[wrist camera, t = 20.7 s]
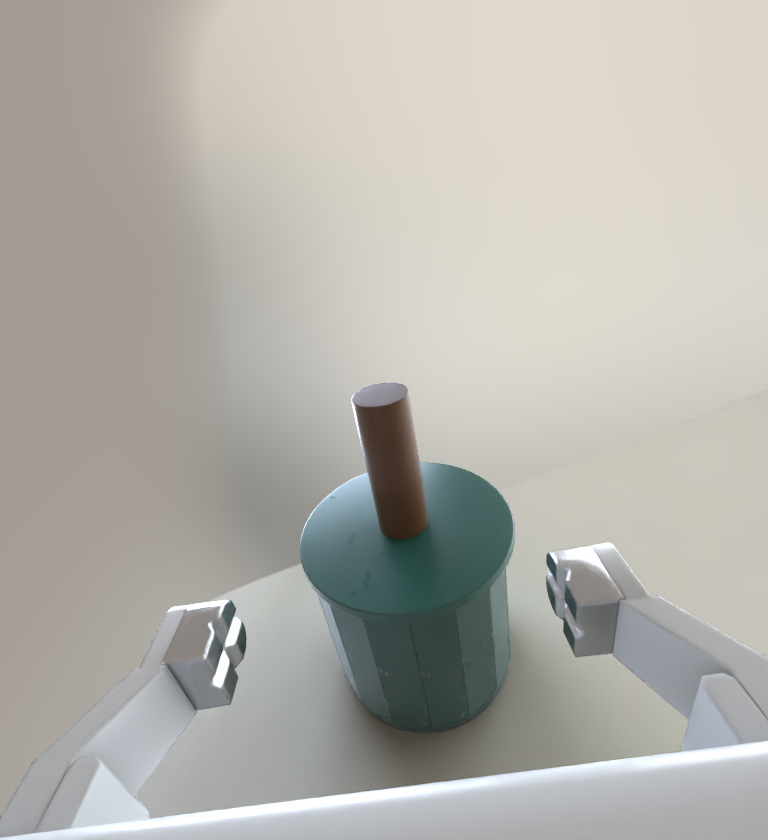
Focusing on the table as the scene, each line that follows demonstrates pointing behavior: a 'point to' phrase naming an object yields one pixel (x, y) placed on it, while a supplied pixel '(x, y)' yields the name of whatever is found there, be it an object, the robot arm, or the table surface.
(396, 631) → the pot
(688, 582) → the table surface
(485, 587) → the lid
